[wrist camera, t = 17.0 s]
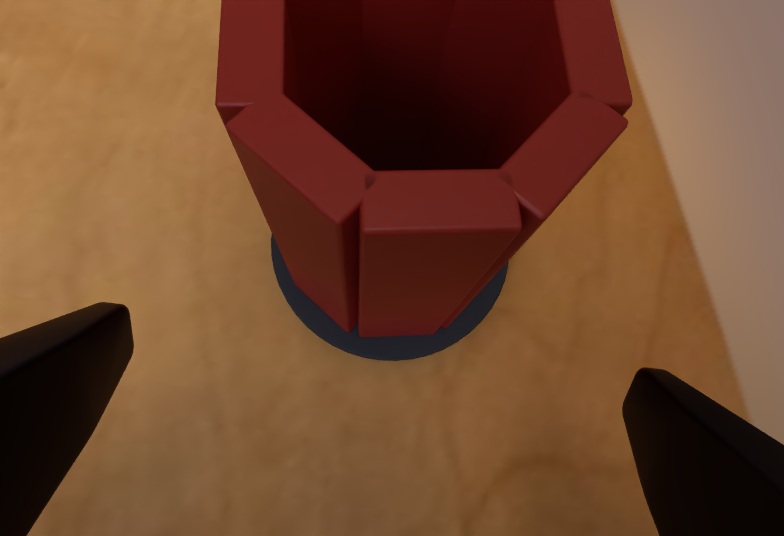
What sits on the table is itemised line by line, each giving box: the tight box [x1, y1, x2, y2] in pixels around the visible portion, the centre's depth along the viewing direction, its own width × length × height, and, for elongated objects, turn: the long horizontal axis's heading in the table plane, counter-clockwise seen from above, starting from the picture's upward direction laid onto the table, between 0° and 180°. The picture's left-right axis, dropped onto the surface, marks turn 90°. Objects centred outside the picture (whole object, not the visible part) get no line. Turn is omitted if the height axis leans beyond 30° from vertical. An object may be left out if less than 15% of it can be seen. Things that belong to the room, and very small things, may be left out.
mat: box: [271, 234, 508, 361], centre depth 16 cm, size 8×8×1 cm
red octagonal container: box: [215, 0, 633, 338], centre depth 12 cm, size 6×6×8 cm
